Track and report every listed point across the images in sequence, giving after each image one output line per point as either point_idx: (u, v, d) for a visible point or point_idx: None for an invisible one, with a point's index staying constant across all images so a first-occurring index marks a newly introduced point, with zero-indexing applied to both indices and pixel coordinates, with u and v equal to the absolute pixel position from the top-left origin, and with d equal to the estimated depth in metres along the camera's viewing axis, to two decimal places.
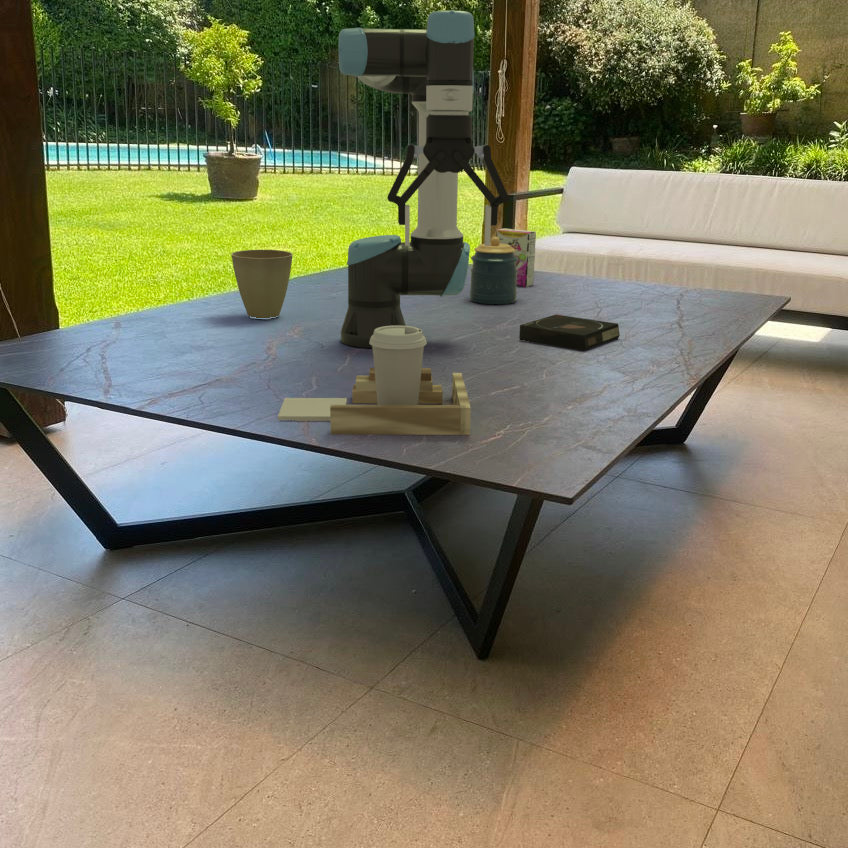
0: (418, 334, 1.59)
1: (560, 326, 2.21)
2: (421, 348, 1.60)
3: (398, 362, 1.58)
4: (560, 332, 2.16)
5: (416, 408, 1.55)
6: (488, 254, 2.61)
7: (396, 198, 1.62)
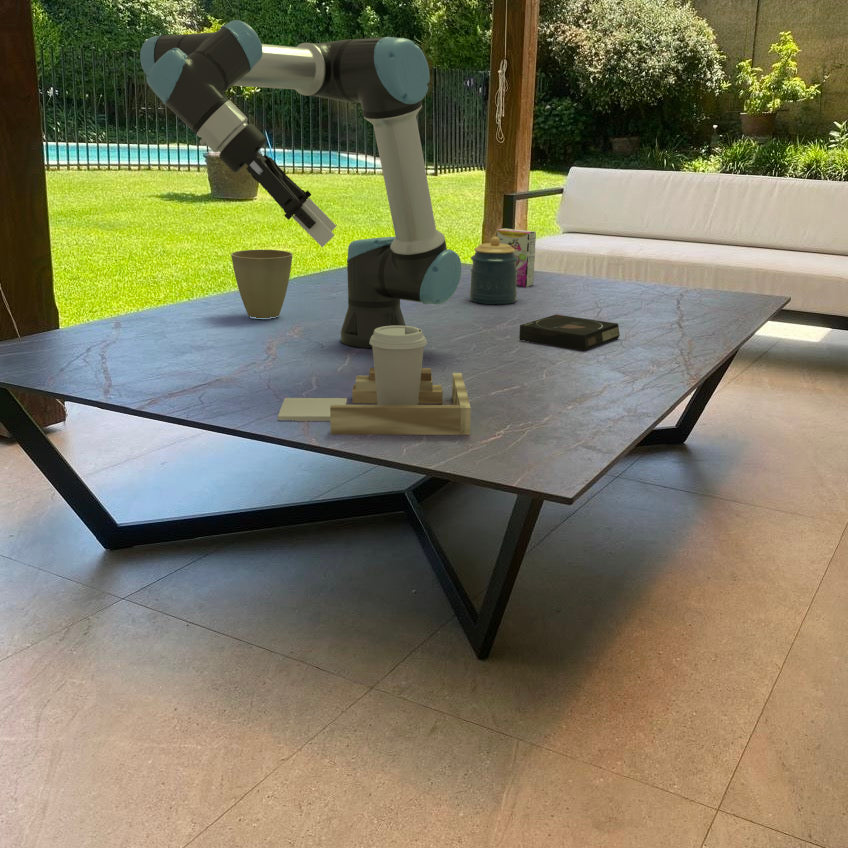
0: (418, 334, 1.59)
1: (560, 326, 2.21)
2: (421, 348, 1.60)
3: (398, 362, 1.58)
4: (560, 332, 2.16)
5: (416, 408, 1.55)
6: (488, 254, 2.61)
7: None
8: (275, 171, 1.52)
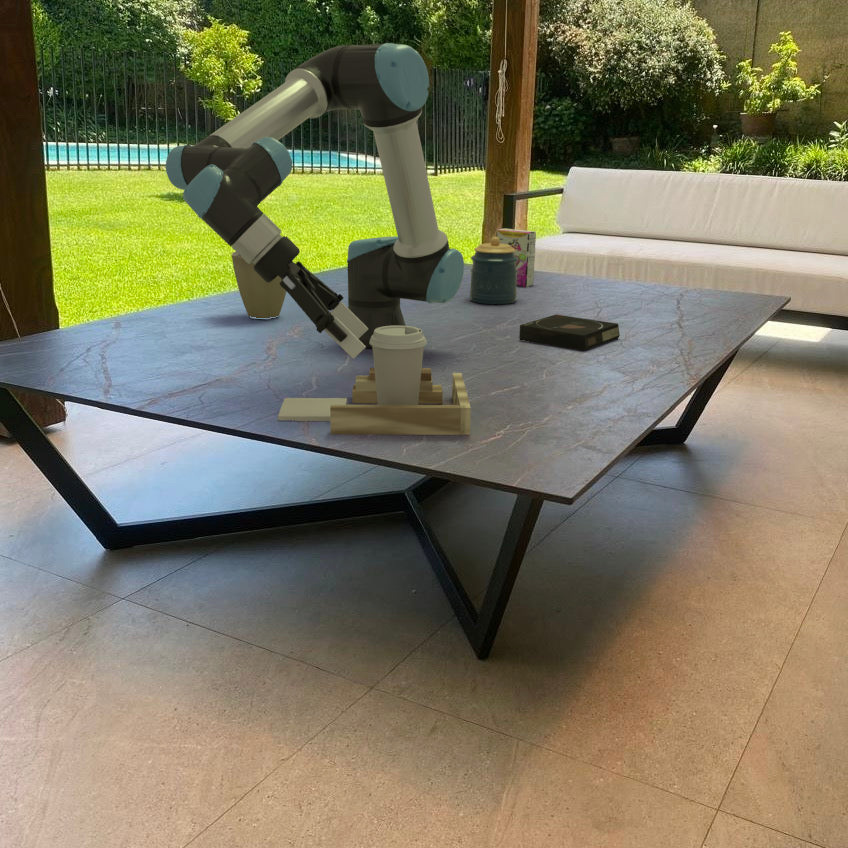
0: (418, 334, 1.59)
1: (560, 326, 2.21)
2: (421, 348, 1.60)
3: (398, 362, 1.58)
4: (560, 332, 2.16)
5: (416, 408, 1.55)
6: (488, 254, 2.61)
7: None
8: (308, 283, 1.54)
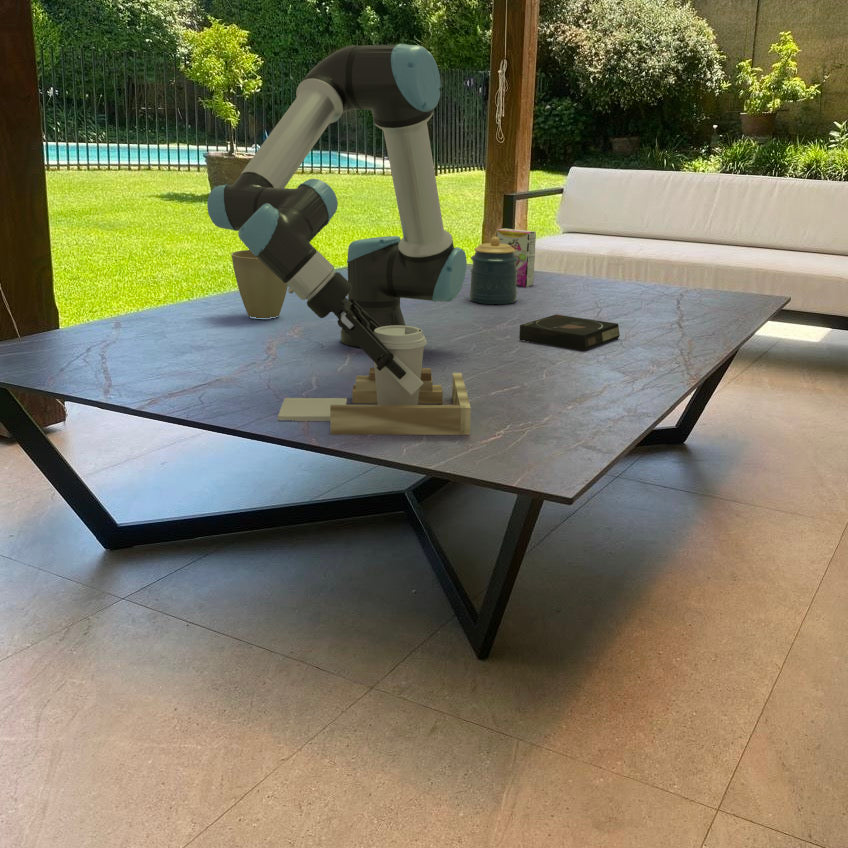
0: (418, 334, 1.59)
1: (560, 326, 2.21)
2: (421, 348, 1.60)
3: None
4: (560, 332, 2.16)
5: (416, 408, 1.55)
6: (488, 254, 2.61)
7: None
8: (363, 321, 1.57)
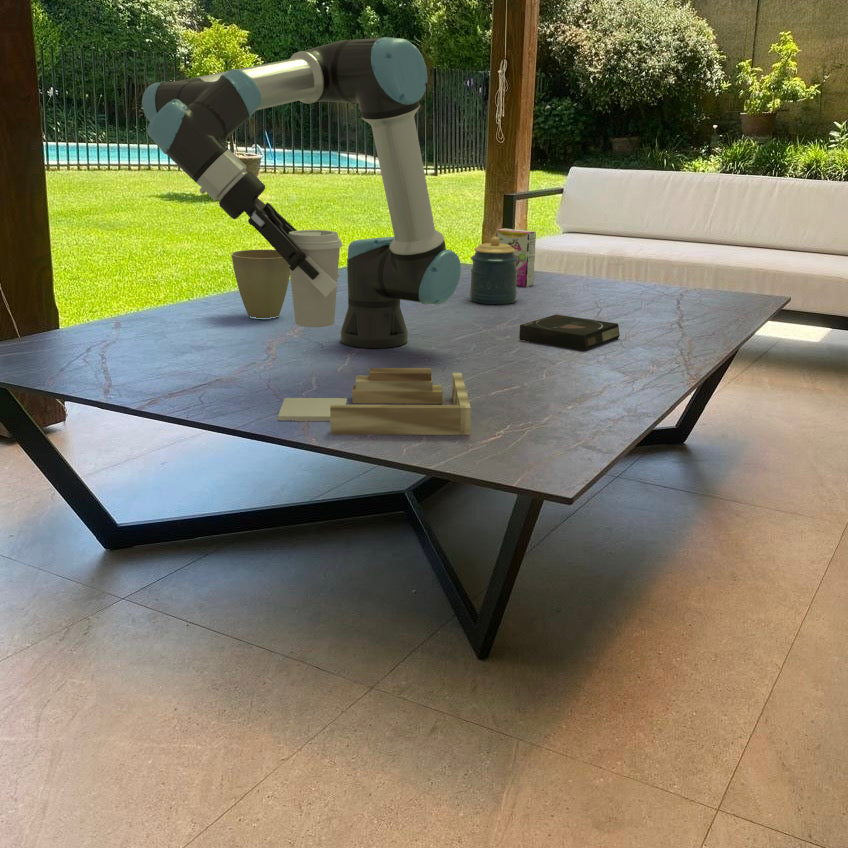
0: (332, 235, 1.57)
1: (560, 326, 2.21)
2: (336, 250, 1.58)
3: None
4: (560, 332, 2.16)
5: (416, 408, 1.55)
6: (488, 254, 2.61)
7: None
8: (275, 220, 1.55)
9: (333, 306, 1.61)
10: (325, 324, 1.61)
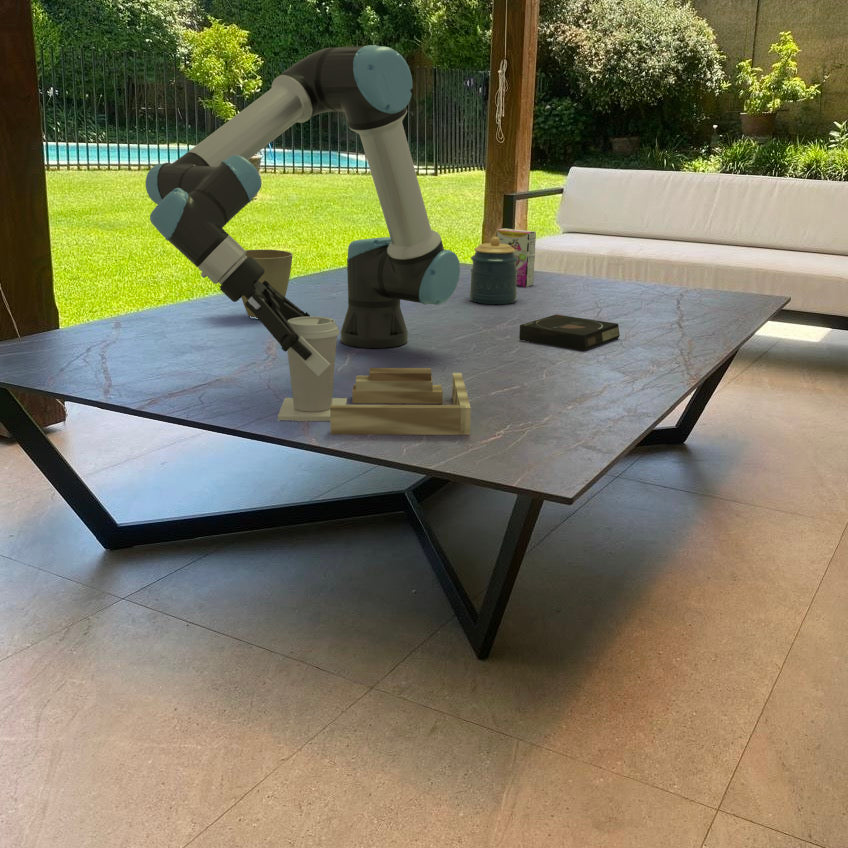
0: (330, 324, 1.61)
1: (560, 326, 2.21)
2: (333, 338, 1.62)
3: None
4: (560, 332, 2.16)
5: (416, 408, 1.55)
6: (488, 254, 2.61)
7: None
8: (273, 303, 1.59)
9: (330, 391, 1.66)
10: (322, 408, 1.65)
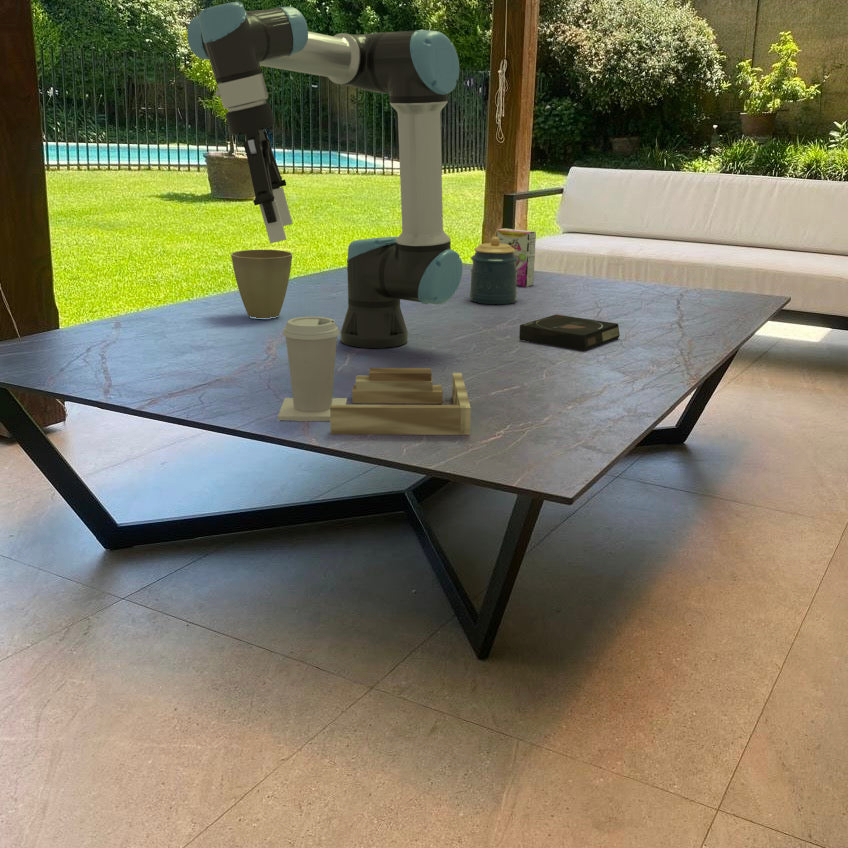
0: (330, 325, 1.61)
1: (560, 326, 2.21)
2: (333, 339, 1.62)
3: (310, 353, 1.61)
4: (560, 332, 2.16)
5: (416, 408, 1.55)
6: (488, 254, 2.61)
7: None
8: (266, 156, 1.58)
9: (330, 391, 1.66)
10: (322, 409, 1.65)
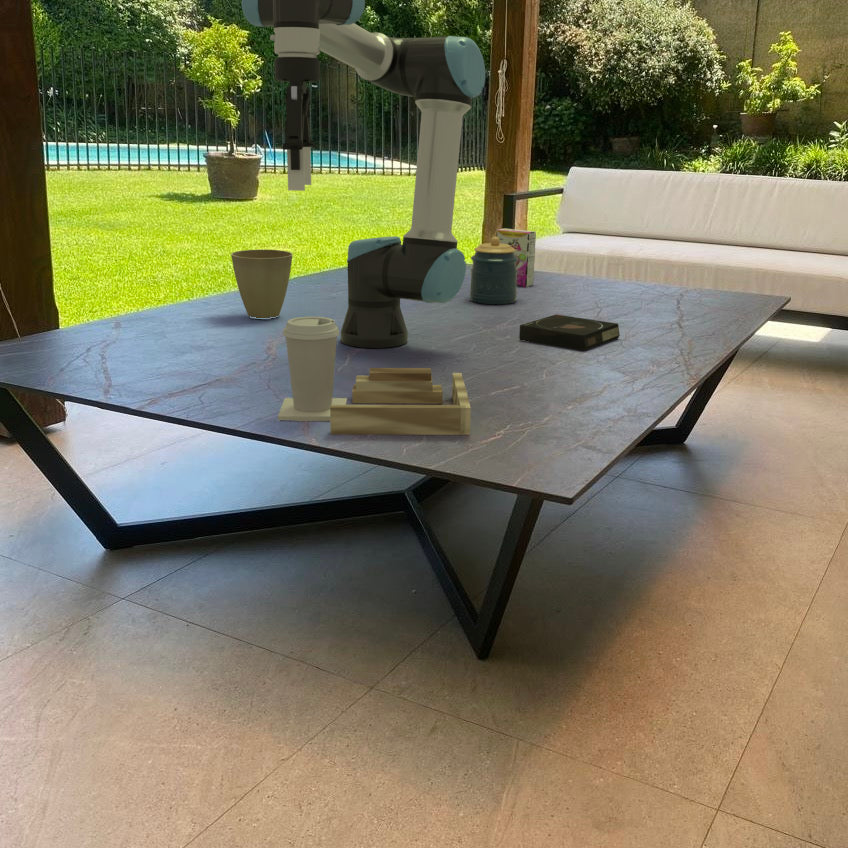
0: (330, 325, 1.61)
1: (560, 326, 2.21)
2: (333, 339, 1.62)
3: (310, 353, 1.61)
4: (560, 332, 2.16)
5: (416, 408, 1.55)
6: (488, 254, 2.61)
7: None
8: (304, 108, 1.61)
9: (330, 391, 1.66)
10: (322, 409, 1.65)
